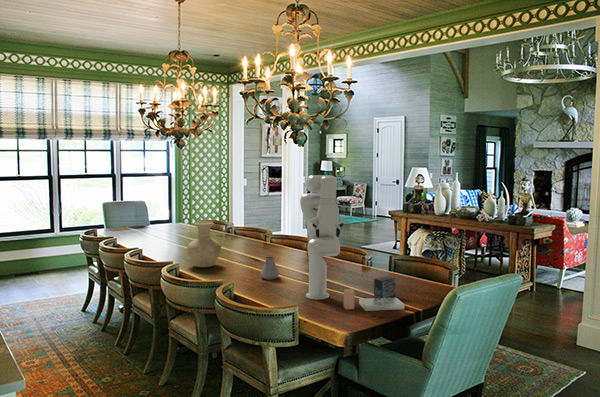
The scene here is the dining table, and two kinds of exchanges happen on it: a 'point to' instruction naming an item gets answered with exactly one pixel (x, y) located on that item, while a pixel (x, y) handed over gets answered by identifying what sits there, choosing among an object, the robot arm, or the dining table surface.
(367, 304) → the white rectangular slab
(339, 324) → the dining table surface
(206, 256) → the vase
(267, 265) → the coffee pot
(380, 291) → the small box
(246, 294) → the dining table surface
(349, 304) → the square peg
